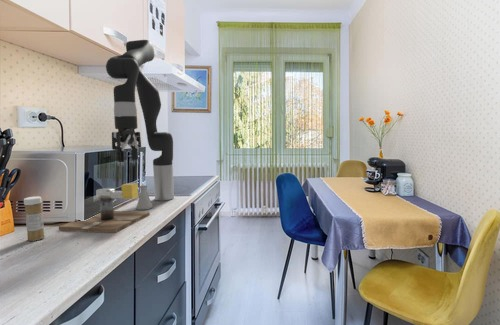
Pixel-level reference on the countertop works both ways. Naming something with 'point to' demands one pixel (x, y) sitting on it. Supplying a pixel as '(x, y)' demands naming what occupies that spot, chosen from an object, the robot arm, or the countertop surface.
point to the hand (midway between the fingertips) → (128, 160)
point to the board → (106, 222)
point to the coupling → (119, 192)
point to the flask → (144, 199)
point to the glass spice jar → (106, 209)
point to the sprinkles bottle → (34, 218)
